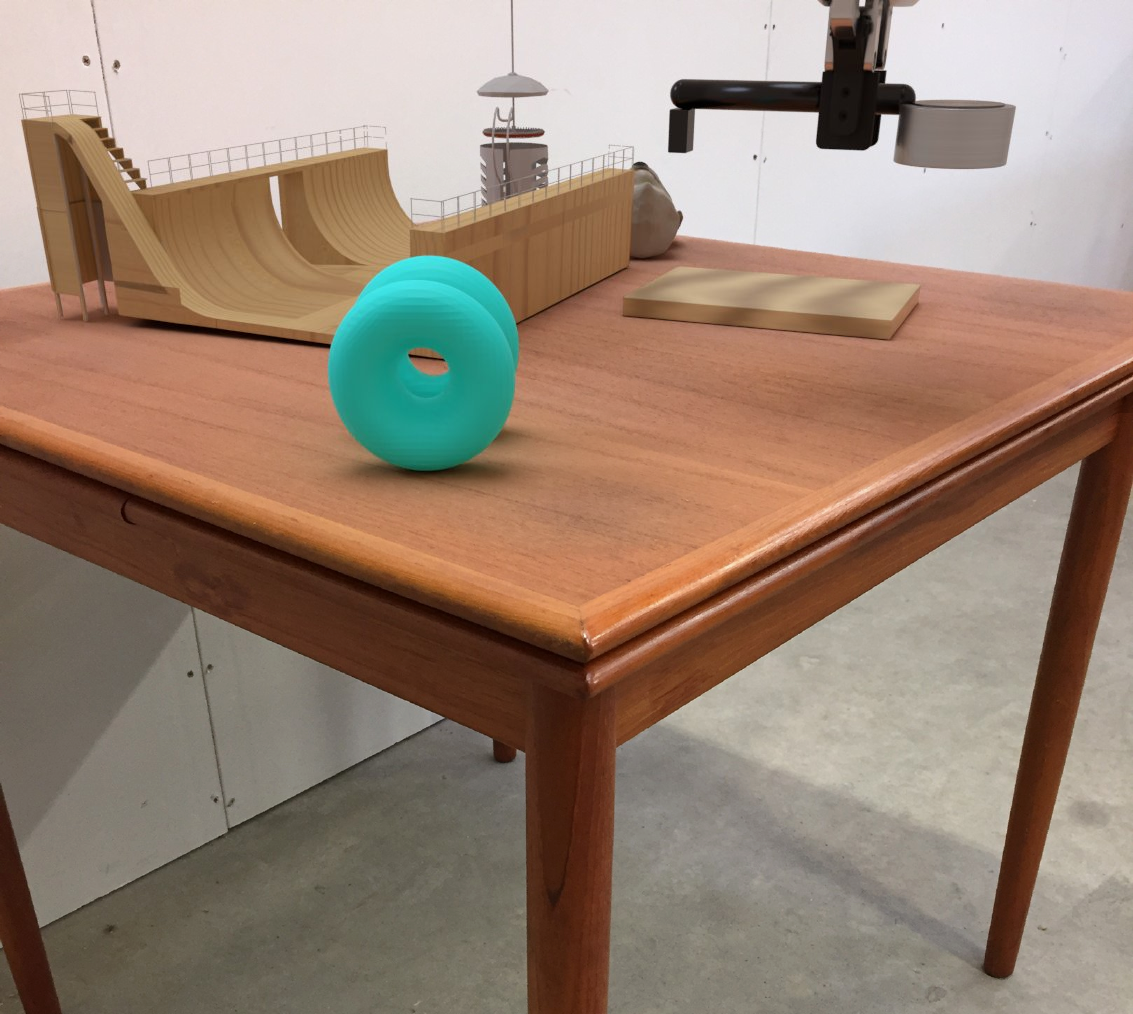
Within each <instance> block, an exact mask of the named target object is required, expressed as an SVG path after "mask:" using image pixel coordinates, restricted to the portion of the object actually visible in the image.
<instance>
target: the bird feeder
mask: <svg viewBox="0 0 1133 1014" xmlns="http://www.w3.org/2000/svg"><path fill="white" fill-rule="evenodd" d="M510 34H511V35H510V36H511V39H510V40H511V42H510V43H511V71H510V72H508V73H507V75H502V76H498V77H494V78H492V79H490V80H488V81H487V82H485V83H484V84H483V85H482V86H480V87H479V89H477V90H476V93H477V96H478V97H486V98H509V99H510V98H511V99H512V100H511V101H512V102H511V103H512V107H510V109H509V112H508V118H506V119H505V118H502V117H501V116H500V108H499V107H498V106H497V107H495V109H494V113H493V120H492V127H487V128H483V130H482V134H483V136H485V137H486V138H491V142H489V143H483V144H480V145H479V157H480V158H481V159H482V161H483V162H484V163H482V162H481V161H480V162H479V165H480V170H481V171H482V173H483V175H482V174H480V182H481V184H482V185H483V186H484V187H483V186H482V185H481V186H480V190H481V191H480V193H481V195H482V197H483V198H482V197H481V199H480V201H481V204H483V205H481V207H483V206H486V205H489V203H487V202H489V187H492V186H495V187H492V188H490V204H493V203H496V202H499V201H502V200H504V198H503V197H504V184H503V183H506V182H509V183H506V199H509V198H512V197H515V196H519V195H522V194H525V193H528V192H531V191H532V190H529V189H532V180H533V177H534V188H535V189H534V191H535V190H538V189H541V188H544V187H545V186H542V185H545V181H546V173H547V184H548V185H547V187H548V186H549V177H548V174H549V164H548V162H549V146H548V144H545V143H538V142H522V141H521V142H519V141H516V142H512V141H511V142H510V139H534V138H541V137H543V136H544V135H545V133H546V131H545V130H544V129H543V128H540V127H538V128H537V127H524V126H523V127H521V126H520V128H519V126H516V121H515V118H516V117H515V115H516V114H515V112H516V111H515V98H516V99H517V98H530V97H531V98H532V97H543V96H547V94H548V92H549V90H550V89H548V88H547V87H546V86H545V85H544V84H542V82H540V81H538V80H536V79H534V78H532V77H529V76H524V75H521V74H518V73H517V72H515V61H514V60H515V59H514V55H515V54H514V51H515V50H514V0H510ZM496 119H498V121H500V122H502V123H507V124H506V127H505V126H504V127H503V126H501V127H499V126H498V127H496ZM511 122H512V125H511V127H510V124H511ZM495 138H496V139H505V140H506V141H505V142H495ZM484 164H485V165H484ZM537 164H538V166H537ZM545 171H548V172H545ZM542 172H544V173H542ZM538 173H541V174H538ZM535 174H537V175H535ZM531 175H534V176H531ZM528 176H530V177H528ZM524 177H527V178H524ZM537 177H539V178H537ZM521 178H523V179H521ZM517 179H521V188H520V180H517ZM514 180H516V181H514ZM510 181H513V182H510ZM499 184H502V185H499ZM496 185H499V186H496ZM539 186H542V187H539ZM536 187H538V188H536ZM485 188H488V189H485ZM482 189H485V190H482ZM526 190H529V191H526ZM523 191H525V192H523ZM520 192H522V193H520ZM516 193H519V194H516ZM513 194H516V195H513ZM510 195H512V196H510ZM507 196H509V197H507ZM500 198H503V199H500ZM497 199H499V200H497ZM494 200H496V201H494ZM491 201H493V202H491ZM484 203H486V204H484Z"/></svg>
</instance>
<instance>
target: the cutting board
mask: <svg viewBox="0 0 1133 1014" xmlns="http://www.w3.org/2000/svg"><path fill="white" fill-rule="evenodd" d="M921 286H922V285H921V284H915V283H904V282H892V281H891V282H890V281H878V280H877V281H876V280H866V279H865V280H864V279H863V280H862V279H851V278H839V277H838V278H837V277H824V276H813V275H799V274H798V275H797V274H786V273H785V274H784V273H773V272H758V271H748V270H747V271H746V270H734V269H733V270H732V269H721V268H720V269H719V268H706V267H692V266H681V265H680V266H675V267H674V268H672V269H671V270H669V271H667V272H665V273H663V274H662V275H660V276H658V277H656V278H654V279H653V280H651V281H648V283H646V284H644V285H642V286H640V287H638V288H637V289H635V290H633V291H631V292H629V293H628V294H626V295H624V296H622V316H624V317H634V318H635V317H637V318H644V319H645V318H646V319H657V320H666V321H677V322H687V323H688V322H690V323H699V324H700V323H701V324H711V325H722V326H735V327H745V328H757V329H767V330H778V331H787V332H799V333H800V332H801V333H810V334H820V335H832V336H843V337H854V338H867V339H875V340H876V339H877V340H887V341H888V340H890V339H891V338H892V337H893V335H894V334H896V332H897V330H898V329H899V328H900V326H901V325H902V324H903V322H904V321H905V320H906V319H907V317H908V316H909V315H910V313H911V312H912V311H913V310H914V308H915V307H916V306H917V304H919V300H920V293H921Z"/></svg>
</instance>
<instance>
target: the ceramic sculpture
mask: <svg viewBox="0 0 1133 1014" xmlns="http://www.w3.org/2000/svg"><path fill="white" fill-rule="evenodd" d="M628 170H635V180H634V191H633V209H632V227H631V245H630V257H634V258H636V259H637V258H638V259H647V258H650V257H654V256H659V255H662V254H664V253H665V252H666V251H667V250H669V248H670V247H671V245H672V243H673V242H674V240H675V238H676V237H677V234H678V231H679V230H680V227H681V225H682V223H683V220H684V214H683V212H682V211H681V210H680V209H679V210H677V209H676V206H675V204H674V202H673V199H672V197H671V195H670V193H669V192H668V189H666V187H665V186H664V184H663V183H662V181H661V180H660V178H659V174H657V172H655V170H654V169H652V168H651V167H650V166H649V165H648V163H646V162H644V161H636V162H634V163H632V164H631V167H630V168H628Z"/></svg>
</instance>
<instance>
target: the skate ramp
mask: <svg viewBox="0 0 1133 1014" xmlns="http://www.w3.org/2000/svg"><path fill="white" fill-rule="evenodd" d="M54 92H66V97H67V103H63V104H53V105H52V104H51V101H50V96H49V95H46V93H54ZM70 92H79V90H77V89H60V90H47V91H35V92H23V93H18V96H19V102H20V108H21V113H22V118H23V119H20V122H21V127H22V133H23V138H24V143H25V149H26V155H27V159H28V165H29V170H30V177H31V182H32V187H33V192H34V196H35V197H34V198H35V202H36V212H37V217H38V222H39V228H40V233H41V238H42V239H41V240H42V243H43V251H44V254H45V260H46V265H47V266H46V267H47V271H48V277H49V282H50V287H51V292H53V294H54V298H55V304H56V310H57V316H58V318H61V319H62V318H64V311H63V305H62V299H61V295H66V296H74V297H78V298H79V303H80V308H81V314H82V320H83V322H89V315H88V310H87V304H86V303H87V302H86V298H85V297H86V296H85V292H84V291H85V290H84V285H85V284H87V283H91V282H96V281H97V287H98V293H99V299H100V305H101V306H102V307H103V313H104V315H106V316H109V315H110V309H109V303H108V302H109V301H108V296H107V290H106V284H105V282H110V283H111V282H112V283H113V285H114V292H115V299H116V305H117V311H118V315H119V316H125V317H129V318H138V319H144V320H153V321H160V322H167V323H173V324H181V325H189V326H190V325H191V326H197V327H205V328H211V329H219V330H227V331H235V332H240V333H241V332H242V333H249V334H256V335H261V336H262V335H263V336H268V337H269V336H270V337H277V338H285V339H293V340H298V341H306V342H313V343H320V344H328V345H331V344H332V341H333V338H334V335H335V333H336V331H337V329H338V327H339V325H340V323H341V322H342V320H343V318H344V317H345V316H346V314H347V313H348V312H349V311H350V309H351V308H352V307H353V306H354V305H355V303H356V301H357V299H358V297H359V296H360V294H361V292H362V291H363V290H364V288H365V287H366V286H367V284H368V283H369V282H370V281H371V280H372V279H373V278H374V277H375V276H376V275H377V274H378V273H380V272H381V271H382V270H384V269H385V268H387V267H388V266H390V265H392V264H394V263H396V262H399V261H401V260H404V259H408V258H411V257H417V256H441V257H447V258H451V259H454V260H457V261H460V262H462V263H465V264H467V265H469V266H471V267H472V268H474V269H476V270H477V271H479V272H480V273H482V274H483V275H484V276H485V277H486V278H488V279H489V280H490V281H491V282H492V283H493V284H494V285H495V286H496V288H497V289H498V290H499V291H500V293H501V294H502V295H503V297H504V298H505V300H506V302H507V303H508V305H509V307H510V309H511V312H512V314H513V317H514V320H515V323H516V324H518V323H520V322H522V321H524V320H526V319H527V318H530V317H532V316H534V315H535V314H537V313H540V312H541V311H543V310H545V309H548V308H549V307H552V306H553V305H555V304H557V303H559V302H561V301H562V300H565V299H567V298H569V297H570V296H573V295H575V294H576V293H578V292H580V291H582V290H584V289H586V288H588V287H590V286H592V285H594V284H596V283H597V282H600V281H601V280H602V281H603V279H606V278H607V277H609V276H611V275H614V274H615V273H617V272H619V271H622V270H623V269H625V268H630V261H631V260H630V259H631V256H630V245H631V227H632V209H633V191H634V180H635V170H629V169H625V167H624V166H625V162H627V161H629V160H631V162H632V164H634V163H635V162H634V160H635V159H634V158H635V151H634V150H632V153H631V157H630V158H627V157H625V150H628V149H631V148H632V149H633V146H631V145H630V146H629V145H623V147H625V148H623V149H620V150H616V151H612V152H608V153H606V154H602V155H598V156H595V157H591V158H587V159H584V160H580V161H577V162H574V163H570V164H567V165H563V166H559V167H556V168H553V169H552V168H551V169H548V171H545V170H544V171H545V172H548V173H549V172H552V171H554V170H557V180H555V181H552V182H548V184H547V177H548V175H547V173H546V181H545V185H542V186H545V187H544V188H541V189H539V188H538V187H536V188H537V190H535V191H534V189H535V188H534V177H533V180H532V189H529V190H532V191H531V192H528V193H525V194H522V195H519V196H515V197H512V198H509V199H506V183H509V182H506V183H503V184H504V197H503V198H504V200H502V201H499V202H496V203H493V204H490V188H492V187H495V186H492V187H489V202H487V201H486V202H487V203H489V205H486V206H483V207H482V205H483V204H482V203H481V204H478V205H476V204H477V197H476V195H477V192H481V189H479V190H475V191H472V192H468V193H464V194H461V195H458V196H453V197H450V198H446V199H444V200H433V199H423V198H413V197H410V198H409V200H410V214H411V215H410V217H411V218H410V217H409V216H408V215H407V214H406V212H405V211H404V209H403V207H402V206H401V204H400V203H399V200H398V199H397V196H396V193H395V191H394V187H393V185H392V181H391V176H390V169H389V153H388V152H389V151H388V148H387V145H388V144H387V143H385V148H377V147H368V146H367V147H366V146H364V147H363V146H362V147H358V148H356V147H357V146H356V145H357V144H356V140H357V139H358V140H359V139H363V142H364V144H366V139H367V144H366V145H369V138H371V136H368V132H363V136H362V137H354V138H350V139H349V141H352V140H353V143H354V144H353V146H354V148H351V149H347V150H340V151H337V152H331V153H329V147H328V145H330V144H336V143H339V147H340V149H343V142H346V141H348V139H345V140H344V139H342V137H339V141H333V142H326V143H321V144H316V145H313V143H311V145H310V146H309V145H308V146H305V147H299V148H298V144H297V143H298V141H297V140H295V141H294V147H295V148H292V149H287V150H282V144H281V141H284V140H291V139H297V138H303V137H308V136H309V139H310V141H309V142H312V139H313V136H315V135H321V134H324V136H325V140H328V133H333V132H339V133H342V131H347V130H352V129H353V136H356V129H358V128H360V126H355V127H351V128H349V127H348V128H344V129H338V130H337V129H336V130H332V131H326V132H325V131H324V132H318V133H311V134H306V135H300V136H293V137H287V138H281V139H275V140H269V141H263V142H255V143H250V144H243V145H238V146H231V147H225V148H218V149H213V150H206V151H200V152H193V153H187V154H181V155H175V156H168V157H163V158H157V159H156V158H155V159H150V160H148V161H147V167H148V173H149V181H150V186H147V180H148V178H146V177H141V169H140V168H139V167H134V165H133V158H130V157H125V152H124V147H119V146H117V145H116V138H115V137H111V136H109V135H110V134H109V130H108V129H109V128H108V127H103V123H102V116H101V115H100V114H99V109H98V103H97V94H96V91H93V93H94V99H95V107H96V112H97V113H96V114H97V115H87V114H75V113H74V110H73V109H74V108H73V106H81V104H80V103H72V98H71V93H70ZM81 92H83V93H92V91H90V90H80V93H81ZM39 94H42V95H39ZM68 94H69V95H68ZM24 96H32V97H42V98H43V103H44V105H42V106H32V107H30V108H29V107H25V101H24ZM47 98H48V99H47ZM47 100H48V103H47ZM58 106H68V109H69V114H60V115H53V113H52V107H58ZM82 106H84V107H93V105H92V104H91V105H90V104H82ZM48 107H49V109H50V110H49V109H48ZM37 108H38V109H37ZM39 108H44V109H39ZM36 109H37V111H38V112H39V111H41V112H45V115H46V116H43V117H42V116H41V117H32V118H27V113H26V111H27V110H28V111H36ZM49 112H50V115H49ZM24 115H25V116H24ZM365 127H366V128H367V125H364V124H363V125H362V126H361V128H365ZM370 127H372V128H380V126H377V125H370ZM383 128H384V130H385V131H384V132H385V133H384V134H387V127H386V126H383ZM365 133H366V135H365ZM374 138H376V139H383V136H382V137H381V136H374ZM271 142H278V147H279V151H275V152H269V153H266V152H265V151H266V150H265V149H263V151H262V154H259V155H253V156H248V155H249V154H247V152H248V146H253V145H258V144H261V146H262V148H264V147H265V144H266V143H271ZM323 145H324V146H325V147H326V148H325V151H326V153H325V154H320V155H316V156H315V155H313V153H314V147H318V146H323ZM610 146H613V147H620V145H618V144H616V145H615V144H608V148H610ZM240 147H244V152H245V153H244V154H246V156H245V157H241V158H236V159H235V158H234V159H230V157H231V156H229V154H230V149H234V148H240ZM626 147H627V148H626ZM307 148H310V152H311V153H310V154H311V156H310V157H305V158H299V156H298V154H299V153H295V159H293V160H288V161H283V158H282V157H283V156H282V153H284V152H289V151H297V150H300V149H301V150H302V149H307ZM222 150H226V156H227V158H228V159H227V160H223V161H217V162H212V159H211V156H210V155H211V152H216V151H222ZM621 151H622V156H618V158H619V159H620V158H621V159H622V160H621V161H617V162H615V158H616V154H615V153H618V152H621ZM203 153H208V154H207V158H208V159H207V160H208V162H209V163H207V164H201V165H196V166H192V163H191V162H192V159H191V156H192V155H197V154H198V155H199V154H203ZM278 153H279V161H280V162H278V163H272V164H267V163H266V161H267V160H264V161H263V165H261V166H256V167H250V166H249V164H248V162H249V158H255V157H256V158H257V157H260V156H261V157H262V158H263V159H265V158H266V156H267V155H272V154H278ZM607 155H608V157H607V158H608V160H607V165H605V157H606V156H607ZM612 155H613V156H612ZM111 156H112V157H113V159H112V157H111ZM184 156H187V158H188V160H189V161H188V165H189V166H188V167H184V168H183V167H182V168H178V169H172V164H171V158H172V159H173V158H178V157H184ZM600 157H602V166H601V167H599V168H595V159H596V158H600ZM610 158H612V163H610ZM243 159H245V162H246V164H247V166H246V169H240V170H235V171H232V168H231V165H230V164H231V161H232V162H233V161H237V160H238V161H239V160H243ZM160 160H167V165H168V170H167V171H161V172H155V173H151V171H150V170H151V169H150V163H149V162H153V161H160ZM590 160H592V161H591V165H592V166H591V170H589V171H586V172H583V171H584V170H583V169H584V168H583V167H584V162H586V161H590ZM116 163H118V164H119V166H120V167H121V168H122V169H118V167H117V165H116ZM220 163H227V164H228V167H229V168H228V172H225V173H219V174H215V175H214V174H212V173H213V167H212V165H215V164H220ZM579 163H581V165H580V167H581V168H580V173H579V174H575V175H572V166H573V165H575V164H579ZM619 163H622V168H616V167H615V165H616V164H619ZM204 166H208V169H209V170H210V171H209V175H208V176H202V177H198V178H194V177H193V175H192V174H193V169H192V168H198V167H199V168H200V167H204ZM610 166H612V167H610ZM565 167H569V176H568V177H565V178H561V179H560V172H561V171H560V169H562V168H565ZM185 169H186V170H188V169H189V174H190V175H189V176H191V177H190V179H187V180H186V179H185V180H181V181H175V182H174V180H173V179H172V178H173V173H172V172H175V171H181V170H185ZM544 171H542V173H544ZM121 173H126V174H127V176H129V177H130V178H131V179H126V180H125V179H124V177H123V176H122V174H121ZM164 173H169V174H170V175H169V180H170V183H165V184H160V185H155V186H154V185H153V184H152V177H151V176H152V175H158V174H159V175H160V174H164ZM538 174H541V173H538ZM535 175H537V174H535ZM531 176H534V175H531ZM273 177H277V185H278V195H279V206H280V208H279V209H280V219H281V224H280V221H279V219H278V217H277V214H276V210H275V207H274V203H273V197H272V191H271V190H272V189H271V180H270V178H273ZM528 177H530V176H528ZM573 177H574V178H573ZM524 178H527V177H524ZM521 179H523V178H521ZM521 179H517V180H520V188H521ZM514 181H516V180H514ZM510 182H513V181H510ZM129 183H130V184H131V183H135V185H136V186H137V187H138V189H133V190H131V189H130V187H129V186H128V184H129ZM499 185H502V184H499ZM499 185H496V186H499ZM547 185H548V187H547ZM542 186H539V187H542ZM486 189H488V188H486V187H484V189H482V190H486ZM529 190H526V191H529ZM523 192H525V191H523ZM520 193H522V192H520ZM471 194H474V205H473V206H471V207H468V208H465V209H462V210H459V209H460V197H464V196H468V195H471ZM516 194H519V193H516ZM516 194H513V195H516ZM510 196H512V195H510ZM507 197H509V196H507ZM503 198H500V199H503ZM454 199H456V201H457V202H456V203H457V204H456V205H457V206H456V207H457V210H456V211H455V212H451V213H448V214H445V202H446V201H450V200H454ZM412 200H417V201H425V202H426V201H427V202H435V203H436V202H437V203H440V209H441V212H440V214H441V215H429V214H422V213H421V214H420V213H413V203H412ZM497 200H499V199H497ZM494 201H496V200H494ZM491 202H493V201H491ZM484 204H486V203H484ZM469 209H470V210H469ZM463 211H464V212H463ZM460 212H461V213H460ZM413 215H414V216H424V217H433V218H440V219H438V220H436V221H431V222H428V223H425V224H422V225H419V226H418V224H416V223H415V222H414V221H413ZM450 215H451V216H450ZM447 216H448V217H447ZM408 355H413V356H420V357H427V358H434V359H435V358H436V359H442V360H444V358H443V357H442V356H441V355H440V354H438V353H437V352H435V351H434V350H431V349H428V348H415V349H412V350H410V351H408Z"/></svg>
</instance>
